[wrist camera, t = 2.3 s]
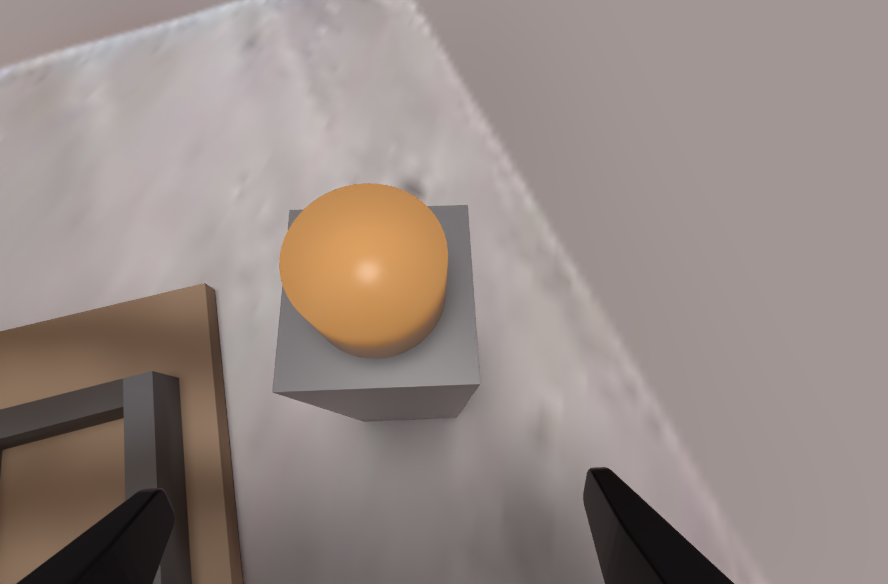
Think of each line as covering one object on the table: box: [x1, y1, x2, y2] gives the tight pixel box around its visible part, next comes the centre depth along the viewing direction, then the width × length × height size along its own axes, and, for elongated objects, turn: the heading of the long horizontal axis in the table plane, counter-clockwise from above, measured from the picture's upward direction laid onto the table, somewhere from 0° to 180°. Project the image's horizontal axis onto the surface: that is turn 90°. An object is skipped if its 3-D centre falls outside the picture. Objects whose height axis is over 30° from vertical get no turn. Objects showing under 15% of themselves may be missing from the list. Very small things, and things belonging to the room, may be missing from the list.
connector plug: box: [272, 184, 480, 421], centre depth 15 cm, size 4×4×14 cm
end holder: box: [0, 283, 243, 584], centre depth 18 cm, size 18×12×3 cm, turn 15°
